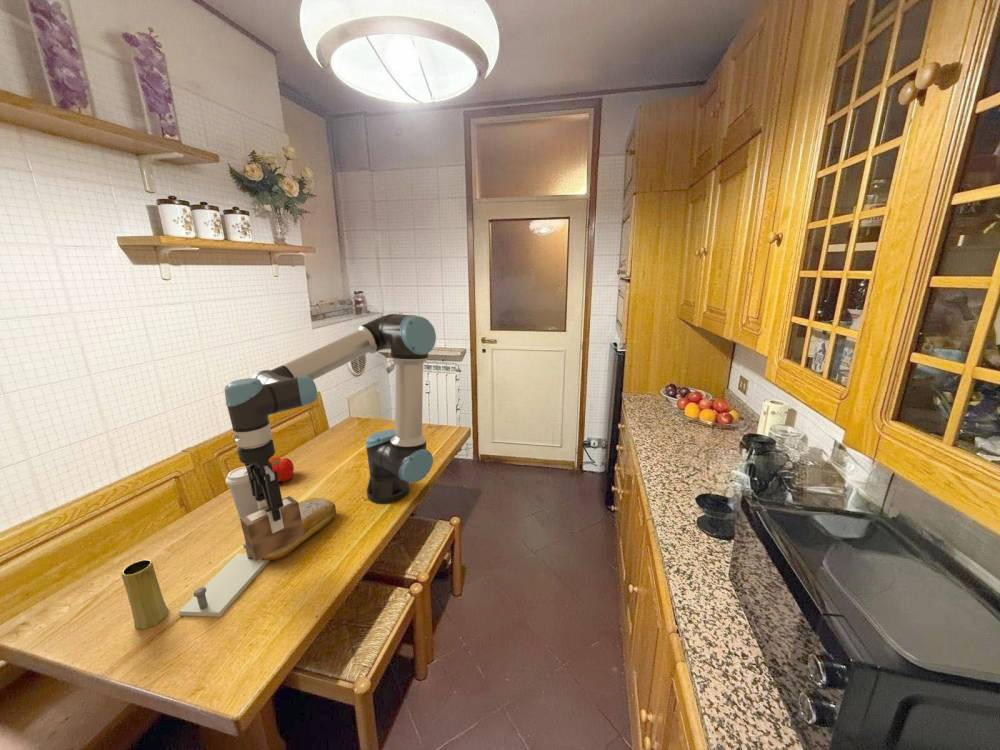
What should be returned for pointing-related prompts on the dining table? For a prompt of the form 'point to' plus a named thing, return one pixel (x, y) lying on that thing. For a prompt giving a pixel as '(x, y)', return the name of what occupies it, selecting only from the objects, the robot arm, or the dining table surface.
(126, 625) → the dining table surface
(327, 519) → the bread
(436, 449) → the dining table surface
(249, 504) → the coffee cup
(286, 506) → the brown block
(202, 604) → the white board with pegs
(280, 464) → the tomato
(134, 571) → the vase
